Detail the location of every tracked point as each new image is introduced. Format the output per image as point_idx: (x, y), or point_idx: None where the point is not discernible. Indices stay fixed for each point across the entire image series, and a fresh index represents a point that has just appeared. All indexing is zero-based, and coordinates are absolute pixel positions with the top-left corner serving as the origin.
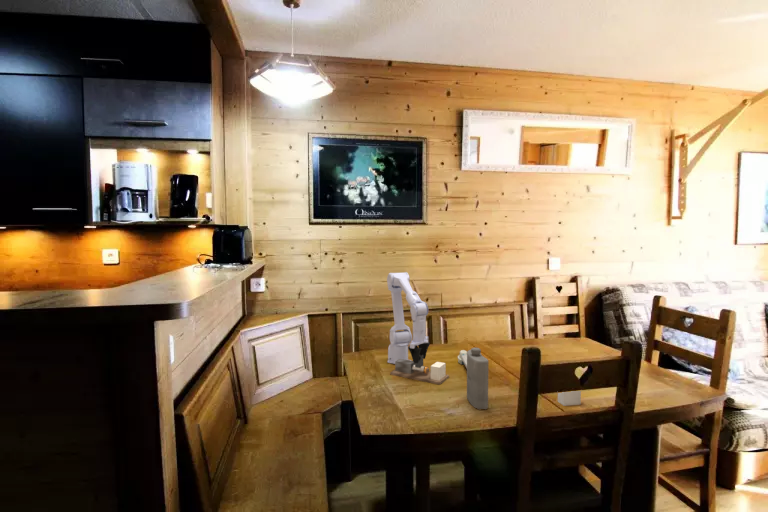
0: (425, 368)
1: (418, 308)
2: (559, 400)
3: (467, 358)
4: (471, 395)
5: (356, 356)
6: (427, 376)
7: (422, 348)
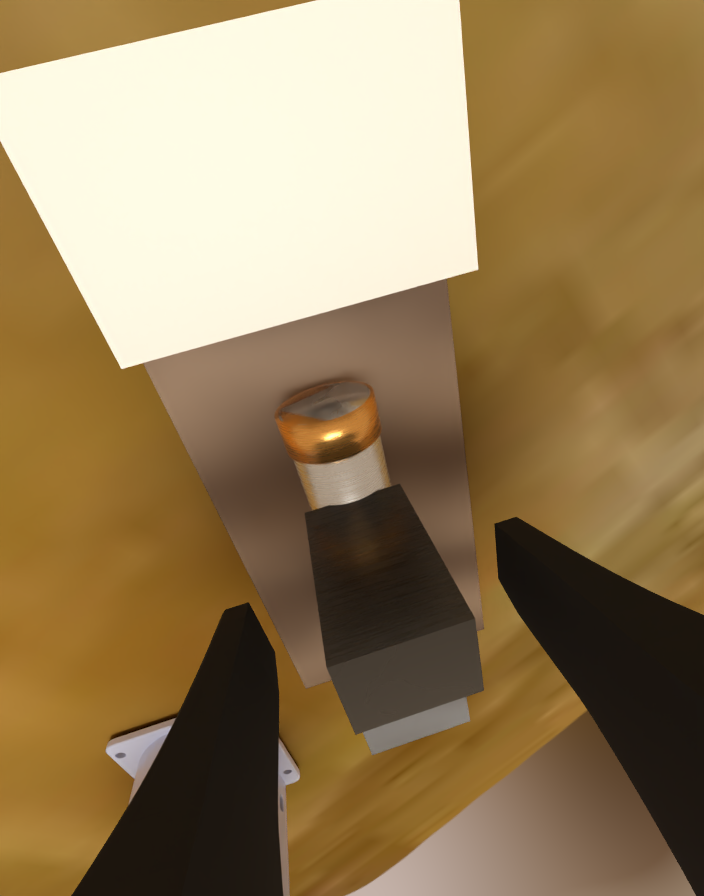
0: (370, 419)
1: None
2: None
3: None
4: None
5: (353, 870)
6: (348, 352)
7: (250, 875)
